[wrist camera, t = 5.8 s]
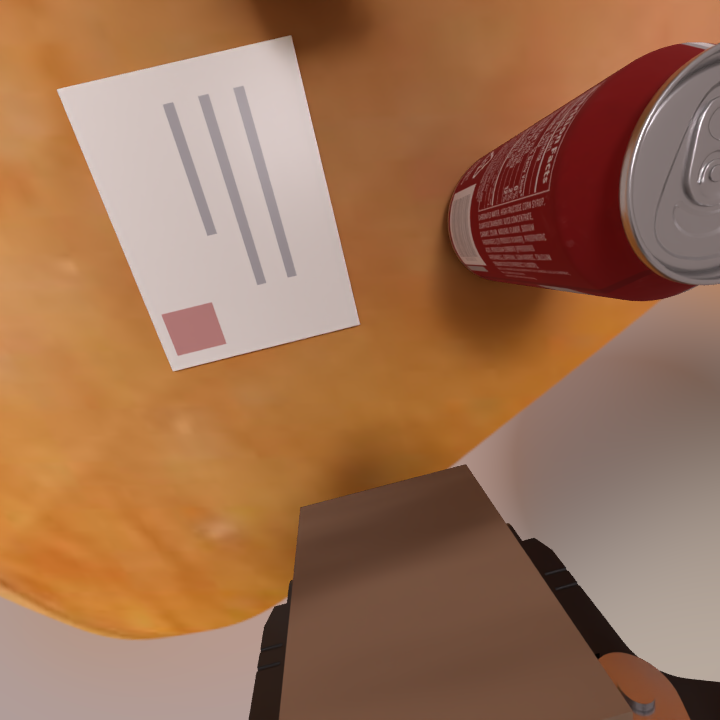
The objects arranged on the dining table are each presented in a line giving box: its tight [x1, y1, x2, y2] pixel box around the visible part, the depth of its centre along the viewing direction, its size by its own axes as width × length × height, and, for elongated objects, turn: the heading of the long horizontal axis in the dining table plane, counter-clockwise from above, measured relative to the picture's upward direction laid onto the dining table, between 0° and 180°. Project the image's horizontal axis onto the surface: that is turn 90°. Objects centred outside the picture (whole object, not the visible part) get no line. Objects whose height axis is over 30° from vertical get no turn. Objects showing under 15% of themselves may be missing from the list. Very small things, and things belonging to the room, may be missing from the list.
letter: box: [57, 35, 360, 371], centre depth 19 cm, size 14×11×1 cm
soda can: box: [448, 42, 720, 301], centre depth 14 cm, size 7×7×12 cm
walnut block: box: [279, 465, 633, 720], centre depth 8 cm, size 5×5×6 cm
